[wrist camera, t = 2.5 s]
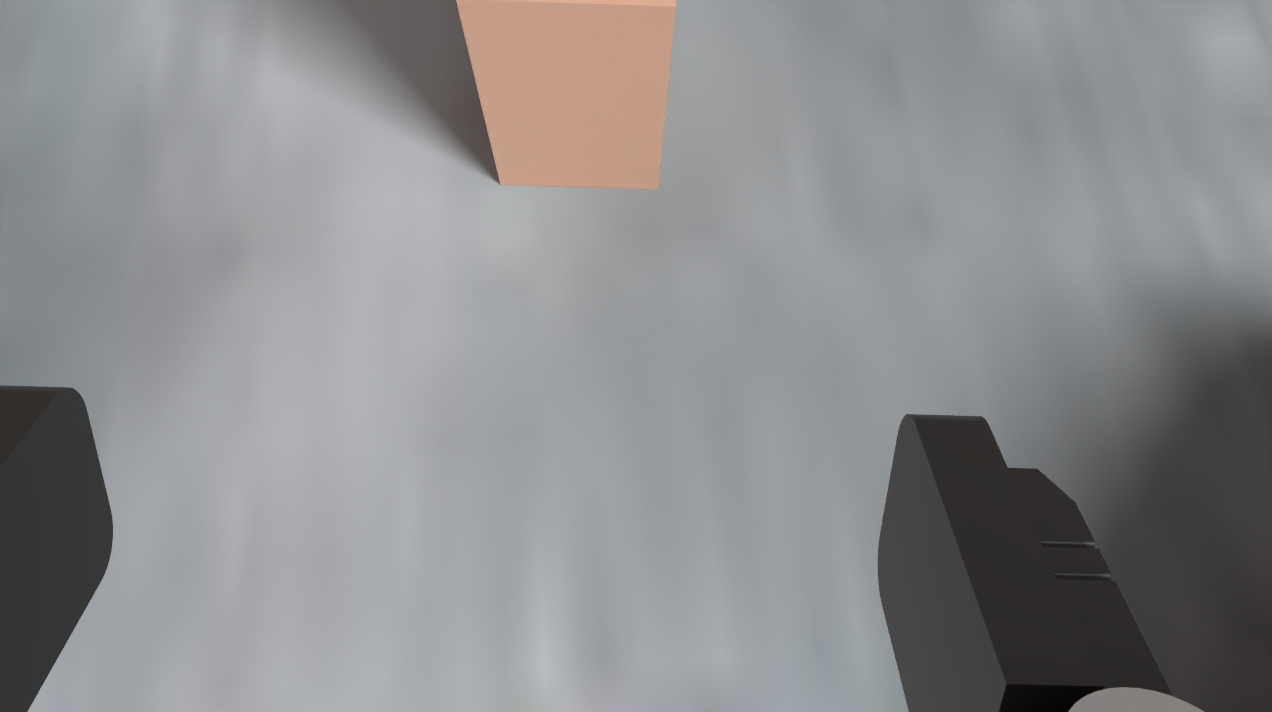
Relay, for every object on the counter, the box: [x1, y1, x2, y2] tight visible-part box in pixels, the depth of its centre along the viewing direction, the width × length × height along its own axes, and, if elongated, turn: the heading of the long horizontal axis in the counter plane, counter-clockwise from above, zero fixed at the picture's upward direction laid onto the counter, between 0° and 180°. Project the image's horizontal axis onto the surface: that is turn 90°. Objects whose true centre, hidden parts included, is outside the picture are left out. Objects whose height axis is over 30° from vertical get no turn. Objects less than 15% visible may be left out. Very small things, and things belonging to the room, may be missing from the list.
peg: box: [456, 0, 676, 189], centre depth 27 cm, size 4×4×9 cm
